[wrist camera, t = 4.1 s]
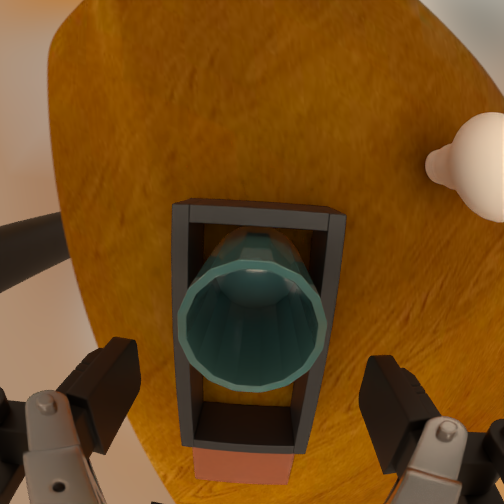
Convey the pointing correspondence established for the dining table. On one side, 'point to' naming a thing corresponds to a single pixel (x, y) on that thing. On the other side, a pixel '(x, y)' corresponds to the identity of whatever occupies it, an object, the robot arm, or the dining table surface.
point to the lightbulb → (474, 165)
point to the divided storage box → (305, 387)
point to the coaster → (242, 466)
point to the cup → (252, 313)
